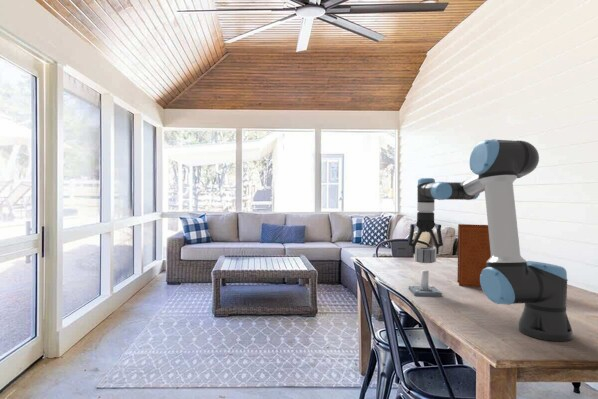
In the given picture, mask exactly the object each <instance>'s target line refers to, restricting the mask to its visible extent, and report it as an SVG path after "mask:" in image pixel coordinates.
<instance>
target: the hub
mask: <svg viewBox="0 0 598 399" xmlns="http://www.w3.org/2000/svg"><path fill="white" fill-rule="evenodd" d="M416 247H417V246H416ZM415 262H417V263H419V264H433V263H436V262H435V249H434V248H433V247H427V246H426V247H425V246H418V247H417V261H415Z"/></svg>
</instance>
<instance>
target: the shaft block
mask: <svg viewBox="0 0 598 399" xmlns="http://www.w3.org/2000/svg"><path fill="white" fill-rule="evenodd" d="M429 276H430V274H429V270H425V269H423V270H421V272H420V277H421V279H420V286H419V285H408V291H409V292H411V293H412V295H413V296H414V297H443V292H442V291H440V290H439V289H438V288H437V287H435V286H433V285H429Z"/></svg>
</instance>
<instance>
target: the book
mask: <svg viewBox="0 0 598 399" xmlns="http://www.w3.org/2000/svg"><path fill="white" fill-rule="evenodd" d="M457 232H458V233H457V235H458V236H457V278H456V279H457V283H458V286H459V287H460V286H462V287H473V288H474V287H475V288H482V287H481V284H480V274H482V273H481V272H482V270H483V269H485V268H486V267H487V261H488V259H489V258H490V257H491V251H490V241H489V230H488V224H470V223H469V224H466V223H465V224H464V223H463V224H462V223H459V224H458V227H457Z"/></svg>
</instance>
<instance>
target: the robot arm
mask: <svg viewBox="0 0 598 399" xmlns="http://www.w3.org/2000/svg"><path fill="white" fill-rule="evenodd" d="M469 156H470V157H469V162H468V163H469V168H470V170H471V172H472V173H474V174H475V175H473V176H470V177H469V178H468V179H466V180H464V181H462V182H455V181H454V182H450V181H449V182H448V181H446V182H444V181H436V179H434V178H433V177H432V178H431V177H428V178H427V177H426V178H425V177H423V178H421V177H420V178H418V180H417V186H416V187H417V193H416V194H417V195H416V196H417V204H416V205H417V212H416V213H417V214H416V222H415V223H410V224H409V227H410V229H409V234H408V235H409V236H408V241H407V245H408V246H410V247H411V254H412V255H413V261H414V262H416V261H417V246H416V245H417V244H418V242H419V239H420V237H421V235H422V233H429V235H430V238H431V241H432V243H433V245H434V246H432V248H434V249H435V262H434V263H436V262H437V255H439V248H440V247H442V246H443V245H444V243H443V237H442V231H441V229H442V224H439V223H438V224H436V222H435V200H439V201H444V200H448V201H449V200H456V201H458V200H463V201H464V200H466V201H470V200H476V199H478V197H479V196H480V194H482V193H483V192H484V197H485V206H486V207H485V208H486V216H487V219H486V220H487V225H488V230H489V241H490V251H491V257H490V258H489V259H488V261H487V267H486V268H485V269H483V270H482V272H481V273H482V274H480V284H481V287H480V288H481V289H482V293H484V295H485V296H486V297H487V299H488V300H490V302H492V303H494V304H497V305H513V304H514V305H516V304H524V307H523V311H521V312H522V313H521V316H520V318H519V320H518V323H517V324H518V326H517V327H518V328H517V329H518V331H519V332H520V333H523V334H524V335H527V336H529V337H531V338H535V339H539V340H544V341H549V342H550V341H551V342H567V341H571V340H572V339H573V328H572V326H571V323H570V320H569V316H568V314H567V302H568V301H567V299H568V298H567V296H568V292H567V291H568V281H569V280H568V274H567V270H566V268H565V267H564V266H561V265H557V264H551V263H546V262H541V261H540V262H539V261H533V260H526V259H525V258H524V257H522V255H521V250H520V237H519V229H518V221H517V220H518V219H517V210H516V203H515V202H516V201H515V193H514V191H515V190H514V182H515V181H516V180H517V179H520V178H523V177H525V176H527V175H529V174H530V173H532V172H533V171H535V169H536V168H537V167H538V165H539V161H540V156H539V151H538V149H537V147H535V146H534V145H533V144H531V143H530V142H528V141H526V140H525V141H524V140H510V139H509V140H507V139H496V138H494V139H485V140H481V141H479V142H477V144H475V146H474V147H473V149H472V150H471V153H470V155H469ZM416 228H417V232H416V235H415V237H414V233H415V229H416ZM434 228H435V229H436V234H437V235H436V236H437V238H436V236H435V233H434V230H433V229H434Z"/></svg>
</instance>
